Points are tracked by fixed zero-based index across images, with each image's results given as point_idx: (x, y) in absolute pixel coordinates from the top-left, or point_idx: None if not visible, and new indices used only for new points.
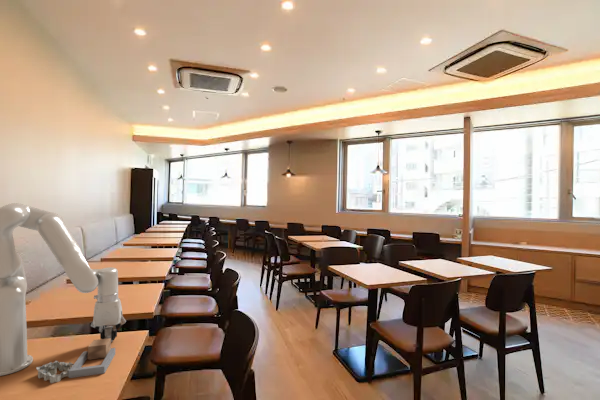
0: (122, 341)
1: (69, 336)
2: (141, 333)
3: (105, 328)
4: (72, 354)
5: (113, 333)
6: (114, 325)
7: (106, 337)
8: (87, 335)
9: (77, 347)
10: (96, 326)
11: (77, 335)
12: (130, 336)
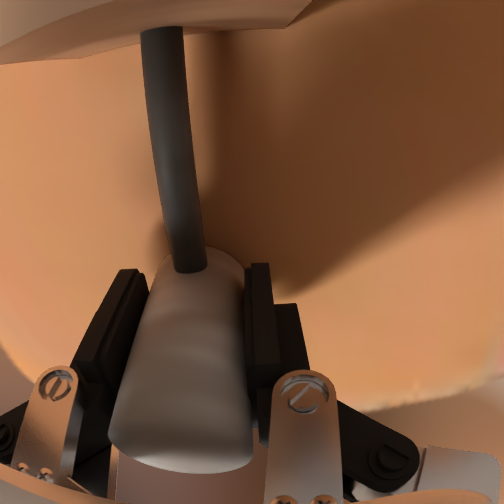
0: (62, 267)
1: (496, 375)
2: (20, 360)
3: (224, 442)
4: (495, 78)
5: (89, 335)
6: (30, 452)
7: (199, 296)
8: (417, 392)
9: (483, 222)
10: (405, 475)
11: (465, 387)
12: (58, 342)
